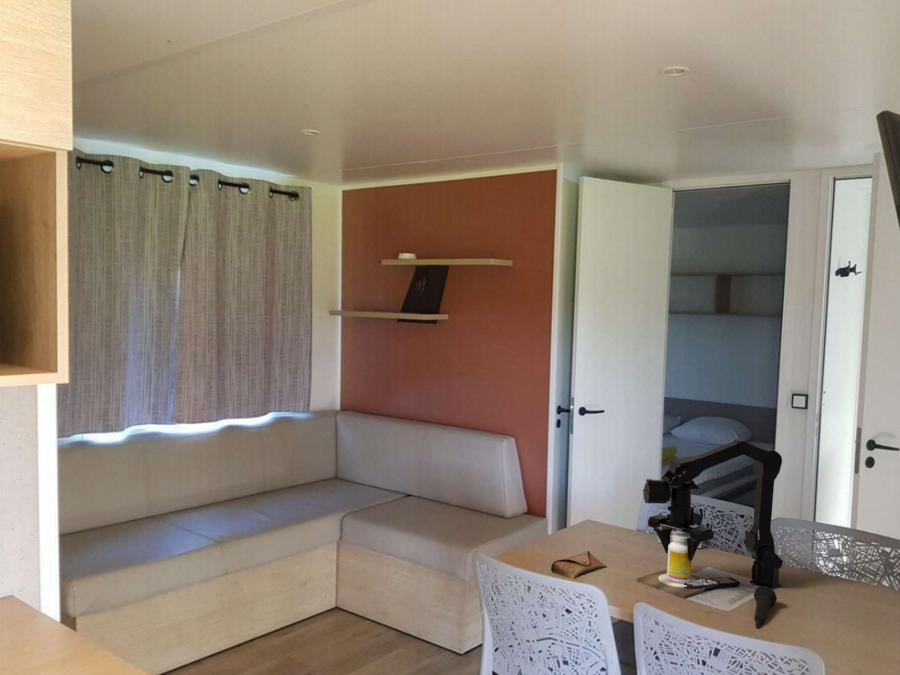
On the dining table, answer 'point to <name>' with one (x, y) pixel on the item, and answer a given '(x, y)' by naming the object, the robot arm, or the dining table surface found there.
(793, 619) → the dining table surface
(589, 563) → the sunglasses case
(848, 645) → the dining table surface
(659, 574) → the brown flat square board
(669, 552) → the supplement bottle
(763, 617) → the microphone
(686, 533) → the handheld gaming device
